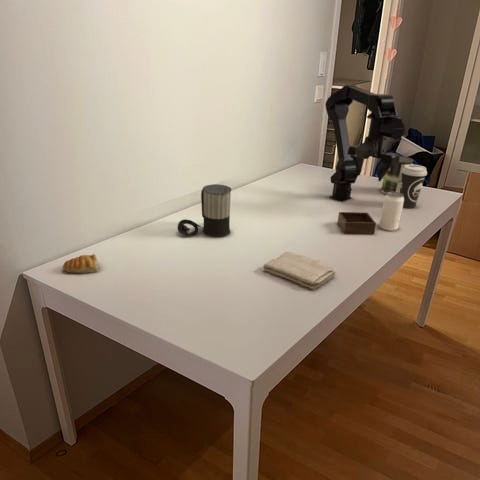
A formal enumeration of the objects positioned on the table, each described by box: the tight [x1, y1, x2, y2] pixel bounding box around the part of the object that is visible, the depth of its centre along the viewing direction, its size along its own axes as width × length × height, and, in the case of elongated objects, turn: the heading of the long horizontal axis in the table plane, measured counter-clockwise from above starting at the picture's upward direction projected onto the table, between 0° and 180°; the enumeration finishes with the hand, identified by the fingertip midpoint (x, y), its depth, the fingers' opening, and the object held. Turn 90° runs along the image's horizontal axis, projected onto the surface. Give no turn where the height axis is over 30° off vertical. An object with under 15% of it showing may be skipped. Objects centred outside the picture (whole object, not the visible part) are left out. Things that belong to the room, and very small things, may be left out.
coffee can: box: [380, 155, 414, 195], centre depth 198 cm, size 10×10×14 cm
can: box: [378, 192, 404, 232], centre depth 163 cm, size 6×6×12 cm
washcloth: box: [262, 251, 336, 291], centre depth 133 cm, size 12×18×3 cm, turn 51°
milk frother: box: [177, 183, 232, 238], centre depth 153 cm, size 14×16×15 cm
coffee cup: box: [400, 164, 428, 209], centre depth 184 cm, size 10×10×15 cm
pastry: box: [62, 253, 99, 274], centre depth 131 cm, size 9×7×4 cm
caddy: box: [337, 211, 377, 235], centre depth 164 cm, size 10×10×4 cm
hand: (368, 178), depth 176 cm, fingers open, 9 cm apart
